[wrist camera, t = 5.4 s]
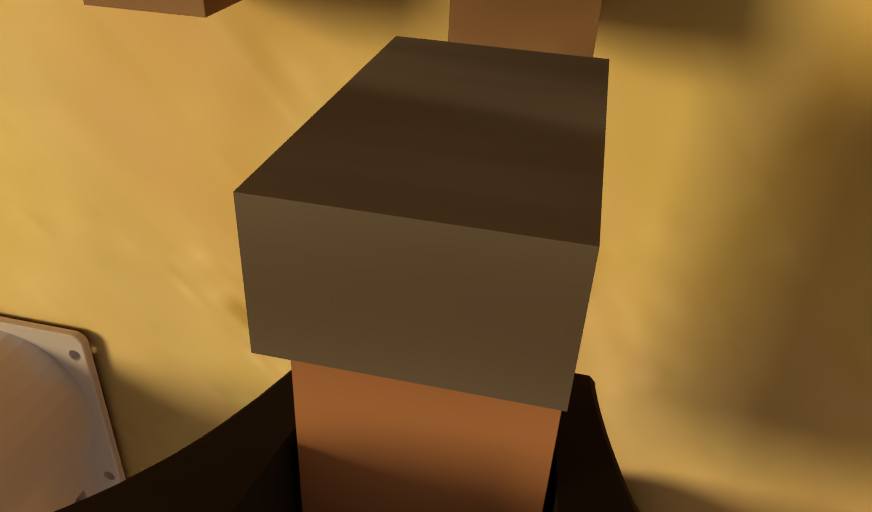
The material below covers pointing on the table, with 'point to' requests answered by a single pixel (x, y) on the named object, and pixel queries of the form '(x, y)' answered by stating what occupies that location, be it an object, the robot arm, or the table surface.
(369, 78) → the brown boxy piece
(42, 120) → the table surface
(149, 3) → the board
